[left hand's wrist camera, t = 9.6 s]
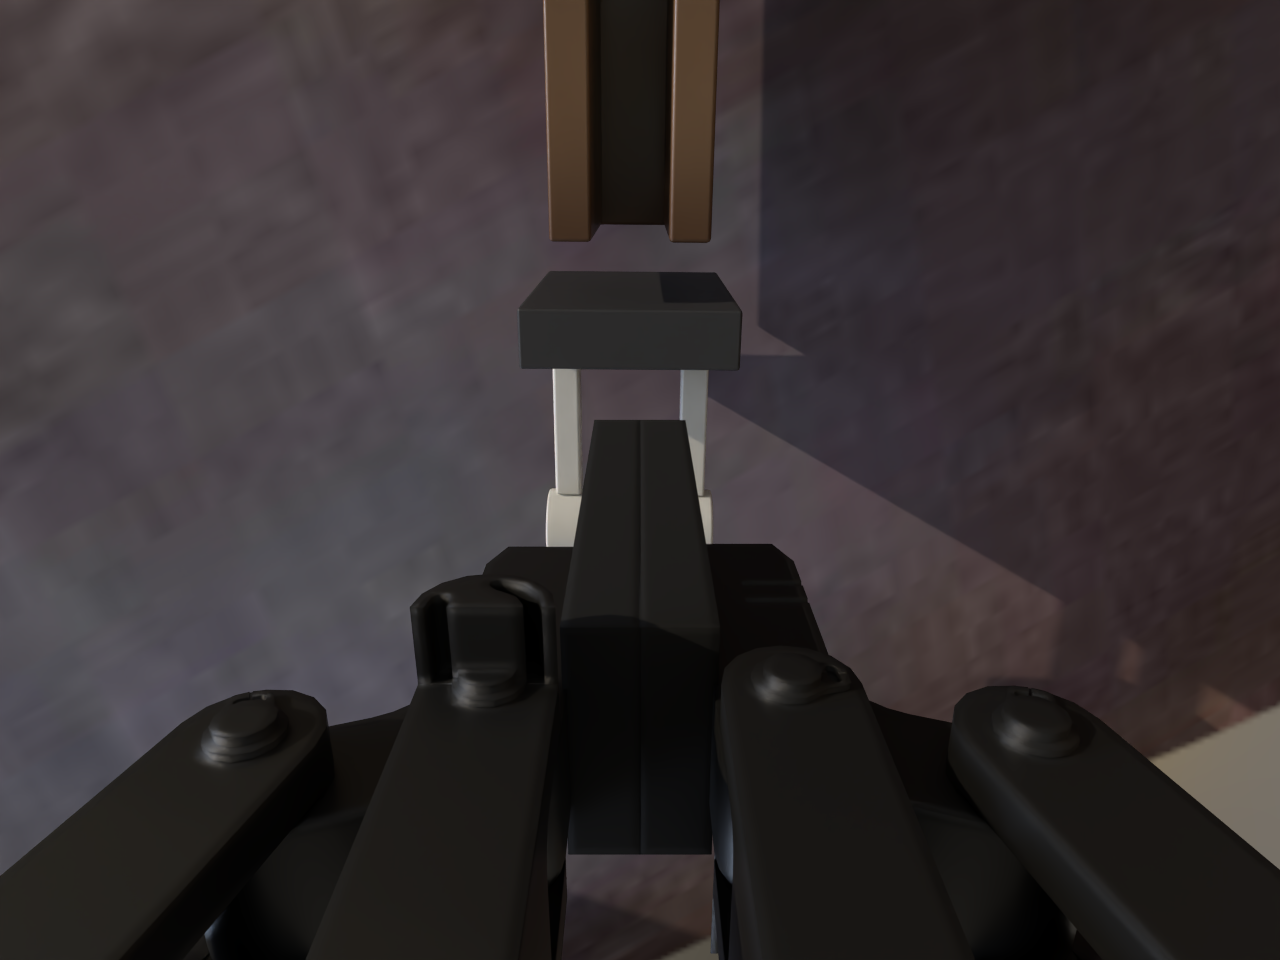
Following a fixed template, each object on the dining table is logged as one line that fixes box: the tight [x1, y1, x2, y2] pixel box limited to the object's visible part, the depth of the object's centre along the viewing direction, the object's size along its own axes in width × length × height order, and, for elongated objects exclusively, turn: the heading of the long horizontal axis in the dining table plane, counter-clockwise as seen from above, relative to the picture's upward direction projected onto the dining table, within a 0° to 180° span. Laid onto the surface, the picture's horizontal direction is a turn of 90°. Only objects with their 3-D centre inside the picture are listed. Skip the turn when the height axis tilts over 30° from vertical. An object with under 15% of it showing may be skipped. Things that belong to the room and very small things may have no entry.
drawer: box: [517, 0, 742, 547], centre depth 18 cm, size 24×4×6 cm, turn 179°
